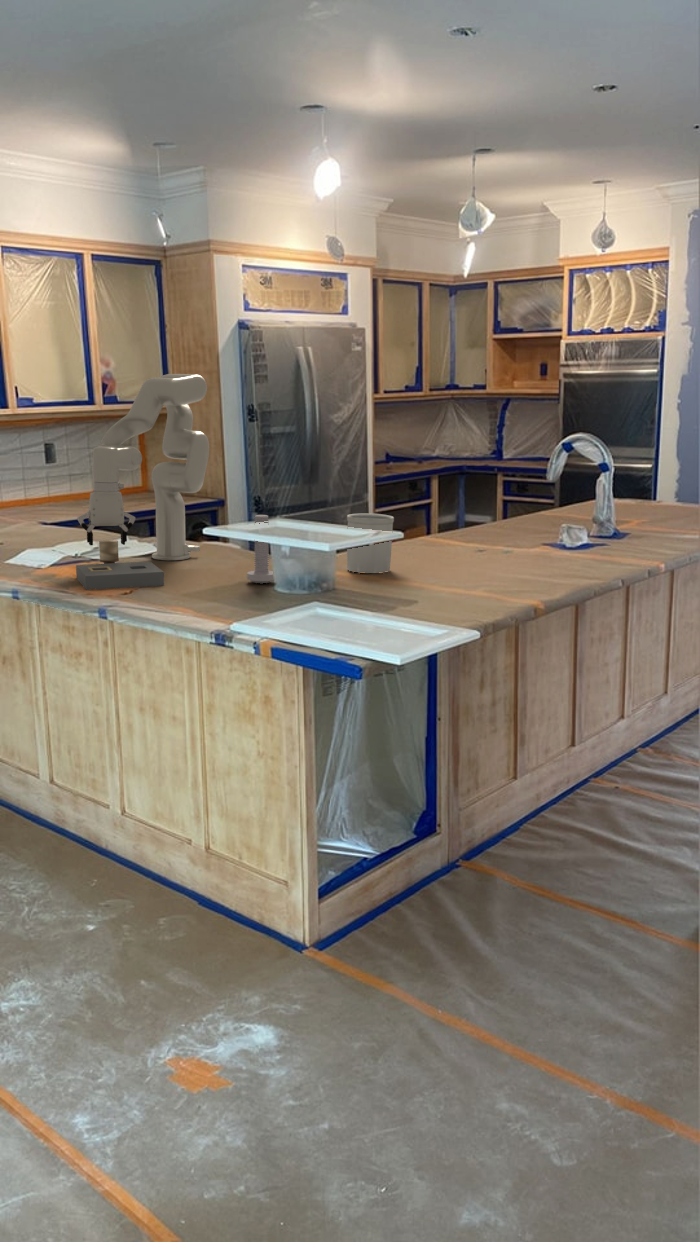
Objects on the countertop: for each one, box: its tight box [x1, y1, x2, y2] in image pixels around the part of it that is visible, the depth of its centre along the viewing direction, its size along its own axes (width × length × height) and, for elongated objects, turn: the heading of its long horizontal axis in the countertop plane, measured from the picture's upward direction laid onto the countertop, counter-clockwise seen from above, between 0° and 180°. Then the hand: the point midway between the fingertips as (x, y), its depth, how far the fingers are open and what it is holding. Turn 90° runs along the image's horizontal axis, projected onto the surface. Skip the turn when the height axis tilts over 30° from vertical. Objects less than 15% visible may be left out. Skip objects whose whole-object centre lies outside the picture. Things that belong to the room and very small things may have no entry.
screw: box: [246, 514, 274, 585], centre depth 295 cm, size 8×8×20 cm
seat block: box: [75, 561, 165, 591], centre depth 294 cm, size 22×18×4 cm
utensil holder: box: [346, 512, 395, 573], centre depth 318 cm, size 15×15×18 cm
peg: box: [98, 539, 120, 564], centre depth 307 cm, size 6×6×10 cm
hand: (107, 544), depth 306 cm, fingers open, 9 cm apart
